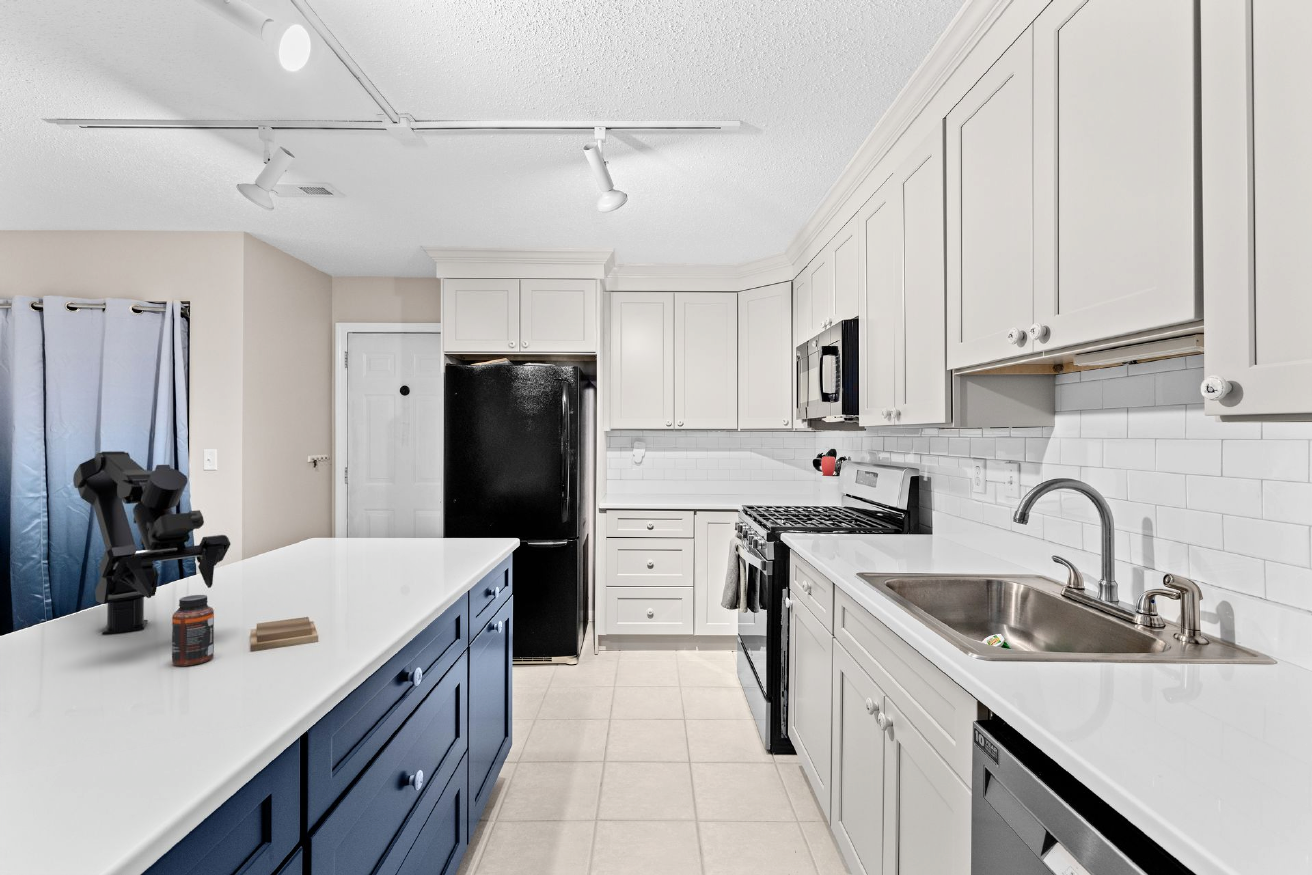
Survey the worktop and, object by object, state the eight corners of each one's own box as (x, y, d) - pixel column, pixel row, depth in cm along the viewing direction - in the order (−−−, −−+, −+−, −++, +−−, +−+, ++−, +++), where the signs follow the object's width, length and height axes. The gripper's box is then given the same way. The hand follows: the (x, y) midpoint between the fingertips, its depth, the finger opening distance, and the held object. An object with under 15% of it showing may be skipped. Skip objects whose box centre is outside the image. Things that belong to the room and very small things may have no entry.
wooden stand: (250, 635, 125) (250, 622, 125) (313, 626, 131) (313, 614, 131) (250, 651, 115) (250, 638, 115) (318, 641, 121) (318, 628, 121)
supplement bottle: (221, 657, 112) (222, 594, 112) (187, 669, 106) (188, 602, 106) (198, 653, 114) (198, 591, 114) (163, 664, 108) (164, 599, 108)
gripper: (105, 501, 108) (128, 572, 102) (226, 493, 124) (252, 555, 118) (90, 542, 113) (111, 613, 107) (209, 530, 128) (233, 591, 122)
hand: (181, 591), depth 113 cm, fingers open, 9 cm apart
